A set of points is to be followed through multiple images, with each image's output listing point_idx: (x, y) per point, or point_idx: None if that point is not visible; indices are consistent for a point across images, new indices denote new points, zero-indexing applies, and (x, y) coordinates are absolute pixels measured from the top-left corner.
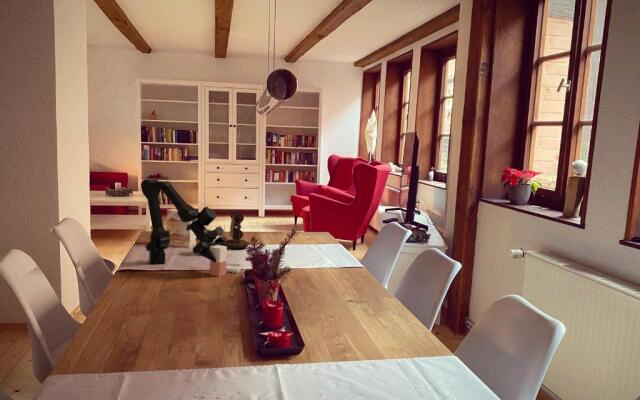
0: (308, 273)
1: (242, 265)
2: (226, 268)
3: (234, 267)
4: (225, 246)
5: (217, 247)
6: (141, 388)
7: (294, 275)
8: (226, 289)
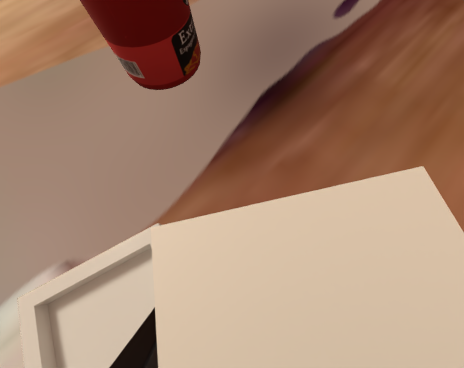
0: (3, 52)
1: (49, 282)
2: None
3: (95, 316)
4: (166, 256)
5: (441, 306)
6: None
7: (53, 60)
8: (405, 69)
